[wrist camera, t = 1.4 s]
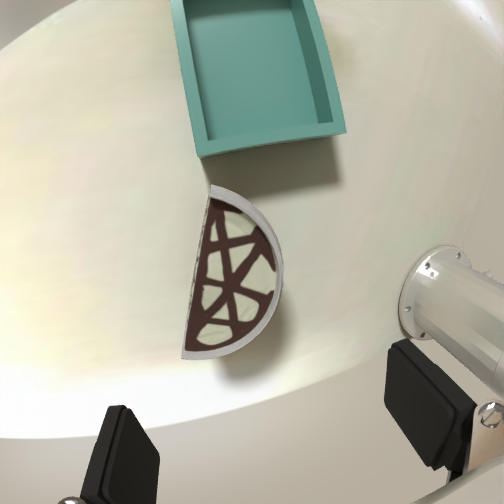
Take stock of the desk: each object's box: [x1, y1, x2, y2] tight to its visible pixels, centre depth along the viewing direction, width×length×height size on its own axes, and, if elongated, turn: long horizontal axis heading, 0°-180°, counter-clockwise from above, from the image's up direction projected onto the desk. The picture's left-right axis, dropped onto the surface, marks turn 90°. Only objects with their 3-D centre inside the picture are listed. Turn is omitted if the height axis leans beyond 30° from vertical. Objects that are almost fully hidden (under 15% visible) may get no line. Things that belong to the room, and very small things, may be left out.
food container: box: [181, 184, 283, 360], centre depth 24 cm, size 12×6×10 cm, turn 167°
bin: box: [170, 0, 347, 159], centre depth 22 cm, size 12×18×4 cm, turn 11°
